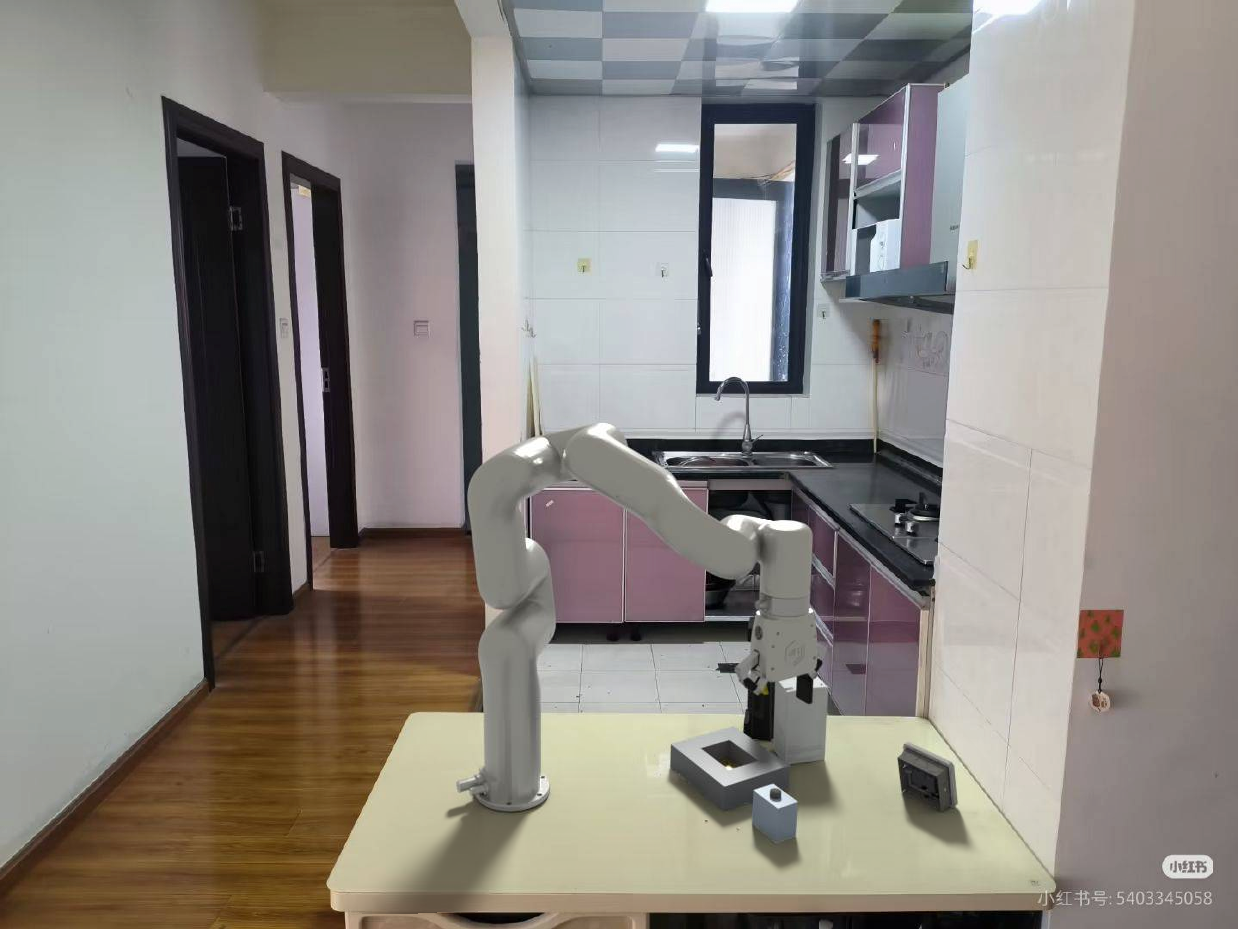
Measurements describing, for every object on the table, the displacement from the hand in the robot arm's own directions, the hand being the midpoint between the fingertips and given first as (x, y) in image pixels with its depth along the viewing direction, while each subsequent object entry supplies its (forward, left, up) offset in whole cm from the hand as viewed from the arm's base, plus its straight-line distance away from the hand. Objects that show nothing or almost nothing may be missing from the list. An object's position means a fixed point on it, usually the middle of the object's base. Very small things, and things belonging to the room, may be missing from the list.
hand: (780, 707), depth 140 cm
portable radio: (+18, +26, -21) cm, 38 cm away
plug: (0, 0, -21) cm, 21 cm away
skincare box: (+19, +16, -21) cm, 33 cm away
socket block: (+3, +16, -21) cm, 26 cm away
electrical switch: (+28, -6, -21) cm, 36 cm away
